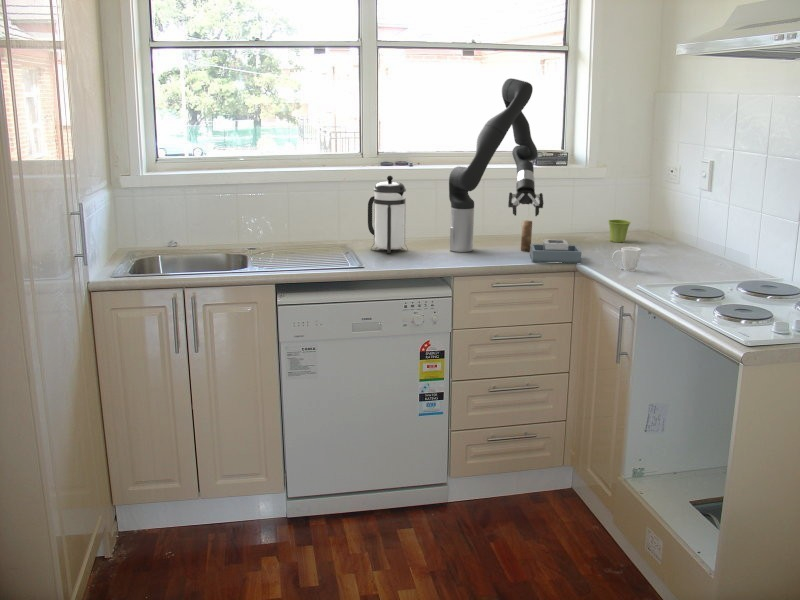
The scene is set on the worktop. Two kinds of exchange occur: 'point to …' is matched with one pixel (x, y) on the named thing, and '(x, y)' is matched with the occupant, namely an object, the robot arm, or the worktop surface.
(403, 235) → the coffee press
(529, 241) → the peg
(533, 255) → the bin
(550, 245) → the bore block
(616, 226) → the plant pot
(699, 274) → the worktop surface
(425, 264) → the worktop surface
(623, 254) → the cup
